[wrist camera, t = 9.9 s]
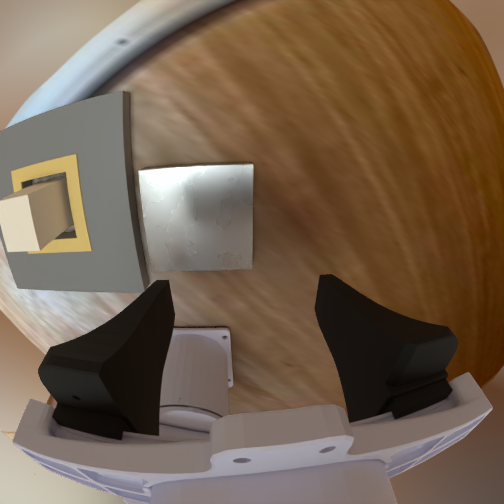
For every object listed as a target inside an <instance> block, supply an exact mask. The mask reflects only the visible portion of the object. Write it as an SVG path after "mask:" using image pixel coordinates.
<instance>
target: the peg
mask: <svg viewBox="0 0 504 504" xmlns="http://www.w3.org/2000/svg"><path fill="white" fill-rule="evenodd" d="M73 224H74V221H73V216H72V211H71V205H70V199H69V193H68V186H67V178H66V177H61V178H56V179H51V180H46V181H41V182H37V183H35V184H33V185H30V186H28V187H26V188H24V189H21V190H19V191H17V192H15V193H13V194H11V195H9V196H7V197H5V198H3V199H1V200H0V225H1V229H2V233H3V237H4V241H5V245H6V248H7V251H8V252H22V251H40V250H42V249H43V248H44V247H45V246H46V245H48V244H49V243H50V242H51V241H52V240H54V239H55V238H56V237H57V236H59V235H60V234H61V233H62V232H64V231H65V230H66V229H67V228H69V227H70V226H71V225H73Z"/></svg>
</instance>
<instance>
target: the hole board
mask: <svg viewBox="0 0 504 504" xmlns="http://www.w3.org/2000/svg"><path fill="white" fill-rule="evenodd" d="M62 172H66V178H67V186H68V193H69V199H70V205H71V211H72V216H73V221H74V226H75V231H76V232H63V233H61V234H60V235H59V236H57V237H56V238H55V239H54V240H52V241H51V242H50V243H49V244H48V245H46V246H45V247H44V248H43V249H42V250H40V251H22V252H8V251H7V248H6V245H5V241H4V237H3V233H2V229H1V225H0V236H1V240H2V243H3V247H4V250H5V254H6V257H7V260H8V263H9V266H10V269H11V272H12V275H13V277H14V280H15V283H16V285H17V288H19V289H35V290H54V291H79V292H123V293H143V292H144V291H145V290H146V289H147V287H148V285H149V281H148V276H147V271H146V265H145V260H144V254H143V248H142V242H141V236H140V230H139V223H138V215H137V208H136V199H135V190H134V180H133V168H132V155H131V136H130V93H128V92H125V91H119V92H114V93H110V94H105V95H101V96H97V97H93V98H89V99H86V100H82V101H78V102H75V103H72V104H68V105H65V106H62V107H59V108H56V109H53V110H50V111H47V112H45V113H42V114H39V115H37V116H34V117H32V118H29V119H27V120H24V121H22V122H19V123H17V124H15V125H13V126H10V127H8V128H6V129H4V130H2V131H0V200H1V199H3V198H5V197H7V196H9V195H11V194H13V193H15V192H17V191H19V190H21V189H24V188H26V187H28V186H30V185H32V179H35V178H40V177H44V176H48V175H53V174H57V173H62Z"/></svg>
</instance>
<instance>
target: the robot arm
mask: <svg viewBox="0 0 504 504" xmlns="http://www.w3.org/2000/svg"><path fill="white" fill-rule="evenodd" d="M315 312H316V316H317V320H318V323H319V326H320V329H321V331H322V333H323V336H324V338H325V340H326V342H327V345H328V347H329V349H330V352H331V354H332V356H333V358H334V361H335V364H336V367H337V370H338V374H339V377H340V381H341V385H342V389H343V393H344V397H345V402H346V407H347V412H348V418H349V421H348V418H347V415H346V413H345V410H344V408H342V407H339V406H337V405H334V404H321V405H313V406H307V407H299V408H292V409H283V410H273V411H261V412H246V413H237V414H231V415H229V390H228V387H232V386H233V371H232V356H231V341H230V330H229V329H228V328H173V327H174V319H175V312H174V306H173V301H172V296H171V290H170V284H169V280H156V281H155V282H154V283H153V284H152V285H151V286H150V287H148V288H147V289H146V290H145V291H144V292H143V293H142V294H141V295H140V296H139V297H138V298H137V299H136V300H135V301H133V302H132V303H131V304H130V305H129V306H127V307H126V308H125V309H124V310H123V311H122V312H120V313H119V314H118V315H116V316H115V317H114V318H112V319H111V320H109V321H108V322H106V323H105V324H103V325H101V326H99V327H98V328H96V329H94V330H92V331H91V332H89V333H87V334H85V335H82V336H80V337H78V338H76V339H73V340H71V341H68V342H65V343H62V344H59V345H56V346H53V347H50V349H49V350H48V352H47V354H46V356H45V357H44V359H43V361H42V363H41V365H40V367H39V369H38V374H39V377H40V379H41V381H42V383H43V385H44V386H45V387H46V388H47V390H48V391H49V393H50V394H51V395H52V397H53V398H54V399H55V400H56V402H57V405H56V408H53V407H52V406H50V405H48V404H45V403H43V402H40V401H37V400H34V399H30V401H29V403H28V405H27V407H26V409H25V412H24V414H23V416H22V419H21V421H20V424H19V426H18V429H17V431H16V434H15V437H14V439H13V444H14V445H15V446H17V447H18V448H19V449H20V450H21V451H23V452H24V453H25V454H26V455H28V456H29V457H30V458H31V459H33V460H34V461H35V462H37V463H38V464H39V465H41V466H42V467H44V468H45V469H47V470H49V471H51V472H54V473H56V474H58V475H61V476H63V477H66V478H68V479H71V480H73V481H76V482H78V483H81V484H83V485H87V486H89V487H92V488H95V489H97V490H100V491H103V492H107V493H110V494H113V495H116V496H120V497H122V499H123V501H124V502H125V503H126V504H397V501H396V498H395V495H394V492H393V489H392V486H391V483H390V480H389V478H391V477H393V476H395V475H397V474H400V473H402V472H404V471H406V470H408V469H410V468H412V467H413V466H416V465H418V464H420V463H421V462H423V461H425V460H427V459H429V458H431V457H432V456H434V455H436V454H438V453H439V452H441V451H443V450H445V449H446V448H448V447H449V446H451V445H453V444H455V443H456V442H458V441H459V440H461V439H463V438H464V437H465V436H466V435H467V434H468V433H469V432H470V431H472V430H473V429H474V428H475V427H476V426H477V425H478V424H479V423H480V422H481V421H482V419H484V417H486V415H487V414H488V413H489V412H490V411H491V410H492V406H491V404H490V403H489V401H488V399H487V398H486V396H485V395H484V393H483V392H482V390H481V389H480V387H479V386H478V384H477V383H476V381H475V380H474V379H473V377H472V376H471V374H470V373H469V372H467V373H465V374H463V375H461V376H459V377H457V378H455V379H453V380H452V381H450V382H449V383H448V382H447V380H446V378H447V376H448V373H447V372H446V370H445V368H446V367H447V365H448V363H449V362H450V360H451V359H452V357H453V355H454V353H455V351H456V349H457V345H458V339H457V338H456V336H455V335H454V334H453V332H452V331H451V330H450V329H449V328H448V327H446V326H441V325H435V324H430V323H426V322H422V321H419V320H415V319H412V318H409V317H406V316H404V315H401V314H398V313H396V312H394V311H392V310H389V309H387V308H385V307H383V306H381V305H379V304H378V303H376V302H374V301H372V300H371V299H369V298H367V297H366V296H364V295H363V294H361V293H359V292H358V291H356V290H355V289H353V288H352V287H350V286H349V285H348V284H346V283H345V282H343V281H342V280H340V279H339V278H337V277H336V276H334V275H332V274H327V275H320V277H319V284H318V290H317V297H316V303H315ZM224 336H226V337H224Z"/></svg>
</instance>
